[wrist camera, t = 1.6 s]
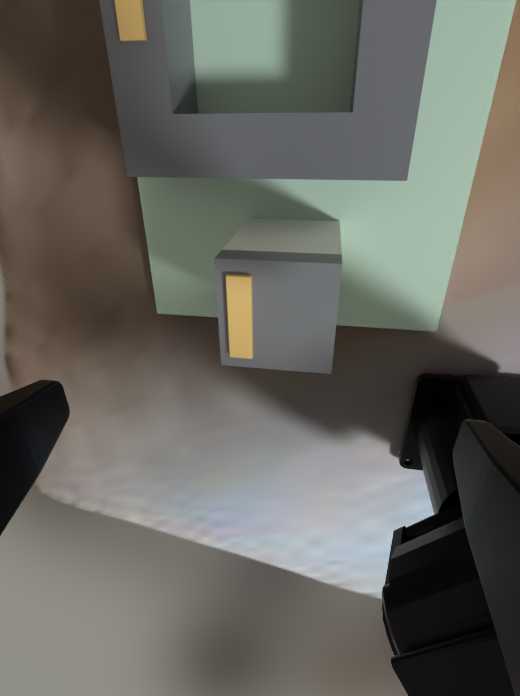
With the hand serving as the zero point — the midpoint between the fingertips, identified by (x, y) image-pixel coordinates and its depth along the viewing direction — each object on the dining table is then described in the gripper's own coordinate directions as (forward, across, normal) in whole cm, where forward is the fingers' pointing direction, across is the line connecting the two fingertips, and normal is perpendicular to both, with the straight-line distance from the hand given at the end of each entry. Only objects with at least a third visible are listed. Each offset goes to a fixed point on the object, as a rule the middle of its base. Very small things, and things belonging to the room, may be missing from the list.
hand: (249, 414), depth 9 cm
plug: (+11, 0, 0) cm, 11 cm away
